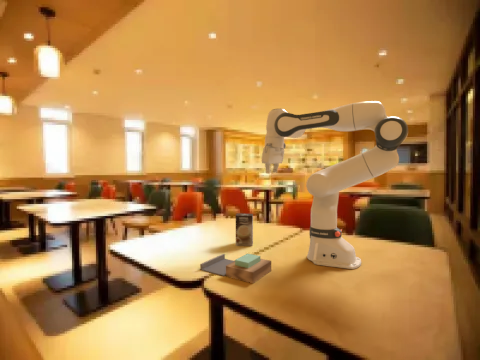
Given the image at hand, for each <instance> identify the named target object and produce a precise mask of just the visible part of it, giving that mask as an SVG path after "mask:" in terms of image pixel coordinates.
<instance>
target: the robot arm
mask: <svg viewBox="0 0 480 360" xmlns="http://www.w3.org/2000/svg"><path fill="white" fill-rule="evenodd" d="M386 111H387V110H386V108H385V106H384V104H383V103H382V102H380V101H378V100H374V101H373V100H371V101H359V102H353V103H348V104H343V105H340V106H337V107H333V108H329V109H327V110H321V111H317V112H309V113H303V114H294V113H292V112H291V113H290V112H288V111H286V110H285V109H284V108H274V109H271V110H270V111H269V112H268V114H267V117H266V126H265V127H266V128H265V130H266V133H265V136H264V137H265V138H264V147H263V149H262V154H261V164H265V165H264V167H265V174H271V170H272V173H278V169H279V165H280V164H282V163H283V161H284V155H285V149H286V148H287V147H286V143H285V138H286V137H287V138H290V139H296V138H297V139H298V138H300V137H302V136H303V135H304V134H305V132H306V130H312V129H319V128H320V129H321V128H323V129H327V130H329V129H330V130H333V131H336V132H355V131H363V130H371V131H373V132H374V136H375V143H376V144H375V146H374V147H372V148H371V149H368V150H366V151H364V152H361V153H359V154H357V155H354V156H352V157H350V158H347V159H345V160H343V161H340V162H338V163H335V164H332V165H329V166H328V167H325V168H323V169H321V170H317V171H316V172H314V173H312V174H311V175H309V177H308V178H307V180H306V184H305V185H306V186H305V187H306V190H307V192H308V193H309V194H310V195H312V196H313V199H312V203H311V208H310V226H309V239H310V241H309V246H308V247H309V248H308V252H307V256H306V258H307V259H308V260H309V261H310V262H312V263H313V264H314V265H317V266H324V267H325V266H326V267H332V268H338V269H339V268H341V269H349V270H354V269H358V268H359V267H361V265H362V259H361V258H360V257H358V256H357V255H356V250H355V247H354V246H353V245H352V244H351V243H350V242H349V241H347V240H346V239H345V238H344V237H343V236H342V235H343V234H342V233H343V228H342V229H340V228H338V227H337V226H338V205H339V196H340V192H341V191H343V190H346V189H348V188H351V187H353V186H357V185H359V184H361V183H364V182H366V181H369V180H372V179H373V178H378V177H379V176H381V175H383V174H386V173H387V172H389V171H391V170H392V169H395V168H396V167H397V166H398V165H399V162H400V156H399V153H398V148H399V147H400V146H401V145H402V144H403V142H405V140H406V139H407V137H408V134H409V127H408V126H409V125H408V124H407V122H406V120H404V119H403V118H401V117H399V116H393V115H392V116H388V115H387V112H386ZM272 164H273V169H271V165H272Z"/></svg>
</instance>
